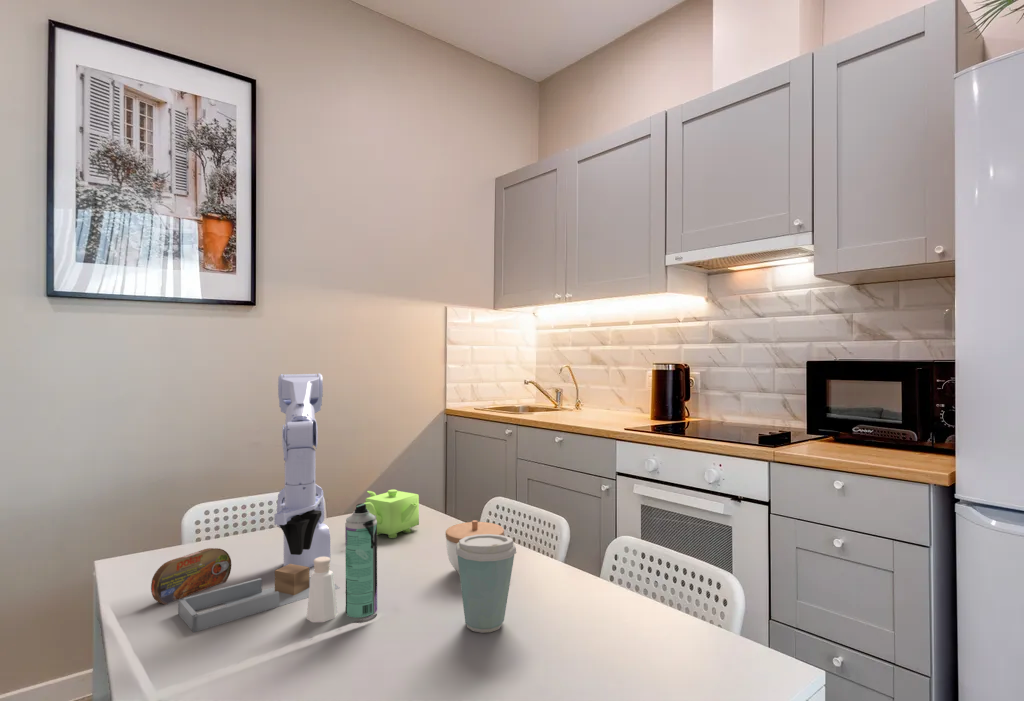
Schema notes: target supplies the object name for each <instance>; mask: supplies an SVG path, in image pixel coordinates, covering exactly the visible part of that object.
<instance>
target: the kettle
mask: <svg viewBox="0 0 1024 701" xmlns="http://www.w3.org/2000/svg"><path fill="white" fill-rule="evenodd" d="M366 492H367V494H369V497H366V498H365V502H363V503H364V504H366V509H367V510H369V513H371V514H372V515H375V516H376V520H377V536H378V535H382V534H385V535H388V536H387V537H388V538H389V539H395V538H398V533H400V532H403V533H406V534H407V533H411V532H412V529H411V528H413V527H416V526H419V524H420V510H419V509H420V508H419V506H420V502H419V501H420V497H419V494H417V493H413V492H406V491H402V490H401V491H400V490H397V489H389V490H387V492H384V493H380V494H376V492H374V491H372V490H367V491H366Z"/></svg>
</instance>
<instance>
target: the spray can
mask: <svg viewBox="0 0 1024 701" xmlns="http://www.w3.org/2000/svg"><path fill="white" fill-rule="evenodd" d="M364 503H365V502H363V503H358V504H356V506H355V509H354V511H352V514H351V515H349V516H347V517H346V518H345V521H346V522H345V523H344V524H345V527H344V528H345V529H344V530H345V536H344V537H345V540H344V541H345V614H346V616H348V617H351V618H361V619H358V620H355V621H352V622H351V623H352V624H361V623H363V624H364V623H366V622H370V621H373V620H374V619H376V617H377V616H378V613H376V612H377V611H378V535H377V520H376V516H375V515H372V514H371V513H369V510H367V509H366V504H364Z"/></svg>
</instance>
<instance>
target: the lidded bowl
mask: <svg viewBox="0 0 1024 701" xmlns="http://www.w3.org/2000/svg"><path fill="white" fill-rule="evenodd" d="M480 534H494V535H503V536H505V529H504V528H503V526H501V525H499V524H496V523H494V522H493V523H492V522H487V521H486V522H485V521H479V520H477V519H476V520H472V521H468V522H467V521H466V522H462V523H457V524H456V523H455V525H452V526H449V527H448V528H447V529H446V530H445V540H446V541H445V542H446V545H445V546H446V553H447V557H448V560H449V563H450V565H451V567H452V568H453V569H454V570H455V571H456V572H458V575H459V576H460V573H459V565H458V556H457V555H456V550H455V549H456V544H457V543H458V542H459V540H461V539H463V538H464V537H467V536H472V535H480Z"/></svg>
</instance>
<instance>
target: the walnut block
mask: <svg viewBox="0 0 1024 701" xmlns="http://www.w3.org/2000/svg"><path fill="white" fill-rule="evenodd" d="M309 577H310V567H306V566H300V565H295V564H289V565H286V566H284V565H283V566H282V567H279V568H278V569H275V570H274V587H275V591H278V592H281V593H286V594H291V595H296V594H298V593H300V592H302V591H304V590H306V589H308V588H309Z"/></svg>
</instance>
